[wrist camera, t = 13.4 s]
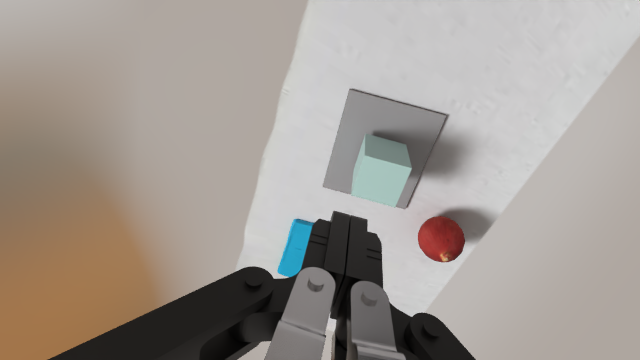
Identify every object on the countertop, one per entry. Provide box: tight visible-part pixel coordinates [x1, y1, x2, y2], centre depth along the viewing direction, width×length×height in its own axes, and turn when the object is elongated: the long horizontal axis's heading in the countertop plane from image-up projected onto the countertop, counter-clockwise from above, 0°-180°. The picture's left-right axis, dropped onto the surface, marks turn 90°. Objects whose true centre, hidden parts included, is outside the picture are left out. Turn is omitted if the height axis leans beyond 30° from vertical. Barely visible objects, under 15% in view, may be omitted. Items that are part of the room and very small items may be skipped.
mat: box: [323, 89, 446, 209], centre depth 43 cm, size 14×12×1 cm
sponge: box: [278, 219, 314, 277], centre depth 53 cm, size 2×12×6 cm
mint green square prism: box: [351, 133, 412, 207], centre depth 39 cm, size 5×5×7 cm
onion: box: [418, 216, 465, 262], centre depth 44 cm, size 6×6×8 cm
